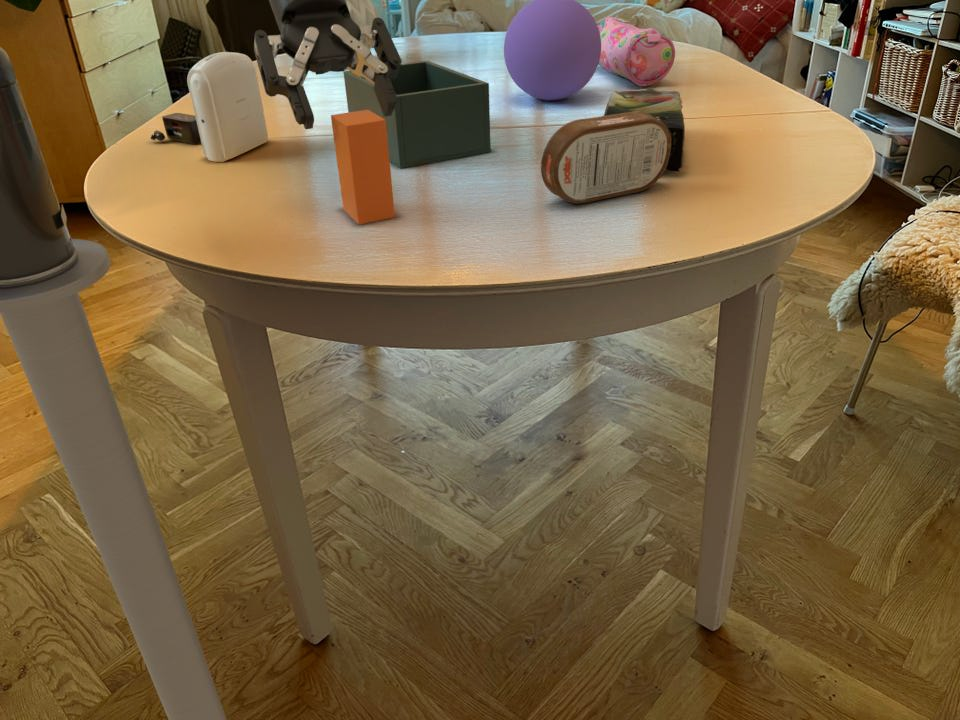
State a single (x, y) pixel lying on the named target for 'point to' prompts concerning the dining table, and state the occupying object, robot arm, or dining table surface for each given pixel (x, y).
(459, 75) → the trash bin
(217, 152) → the photo printer
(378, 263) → the dining table surface
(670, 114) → the juice carton
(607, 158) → the tin
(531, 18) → the decorative ball
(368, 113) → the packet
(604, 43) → the pencil case
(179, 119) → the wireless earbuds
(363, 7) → the vase
